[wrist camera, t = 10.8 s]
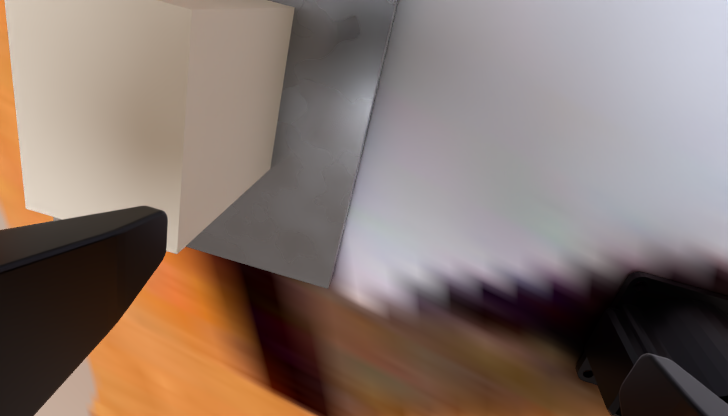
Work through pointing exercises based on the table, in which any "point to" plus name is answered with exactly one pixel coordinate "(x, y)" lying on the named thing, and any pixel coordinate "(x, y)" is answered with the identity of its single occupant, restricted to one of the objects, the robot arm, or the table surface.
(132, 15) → the tea box
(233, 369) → the table surface
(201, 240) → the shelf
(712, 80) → the table surface
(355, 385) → the table surface
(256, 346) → the table surface
